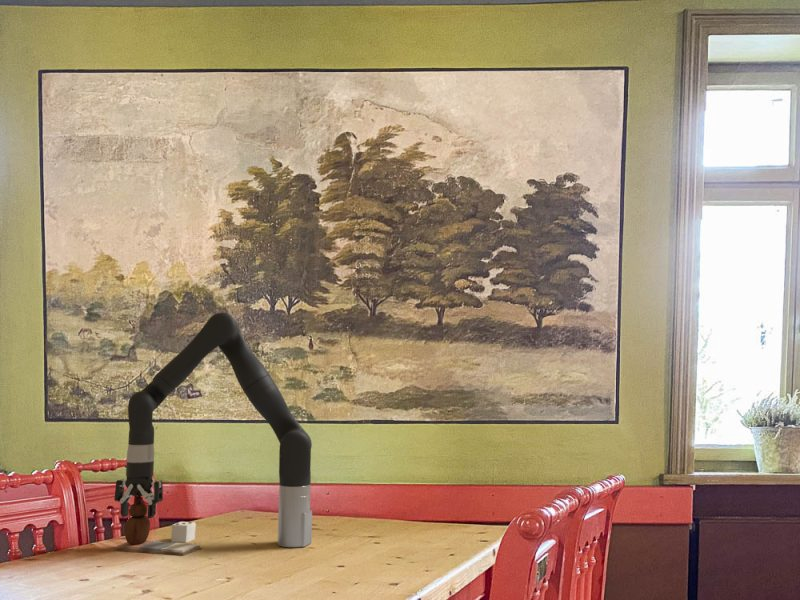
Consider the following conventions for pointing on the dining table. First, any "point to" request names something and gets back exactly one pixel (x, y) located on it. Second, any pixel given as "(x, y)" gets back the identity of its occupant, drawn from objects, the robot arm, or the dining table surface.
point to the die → (183, 532)
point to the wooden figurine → (137, 522)
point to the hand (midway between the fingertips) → (137, 517)
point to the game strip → (159, 548)
